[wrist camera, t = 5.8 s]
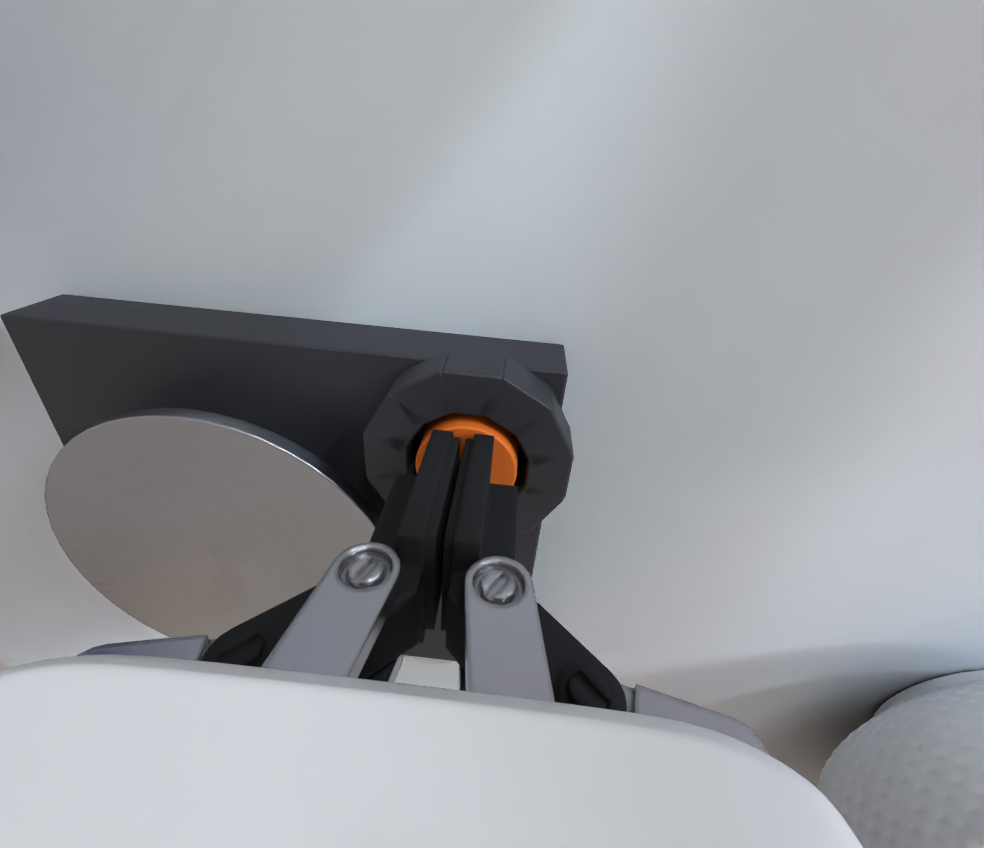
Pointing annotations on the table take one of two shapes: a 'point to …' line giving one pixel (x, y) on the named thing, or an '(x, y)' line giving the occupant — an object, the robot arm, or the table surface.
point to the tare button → (467, 428)
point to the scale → (307, 389)
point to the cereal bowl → (915, 768)
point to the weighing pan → (199, 517)
